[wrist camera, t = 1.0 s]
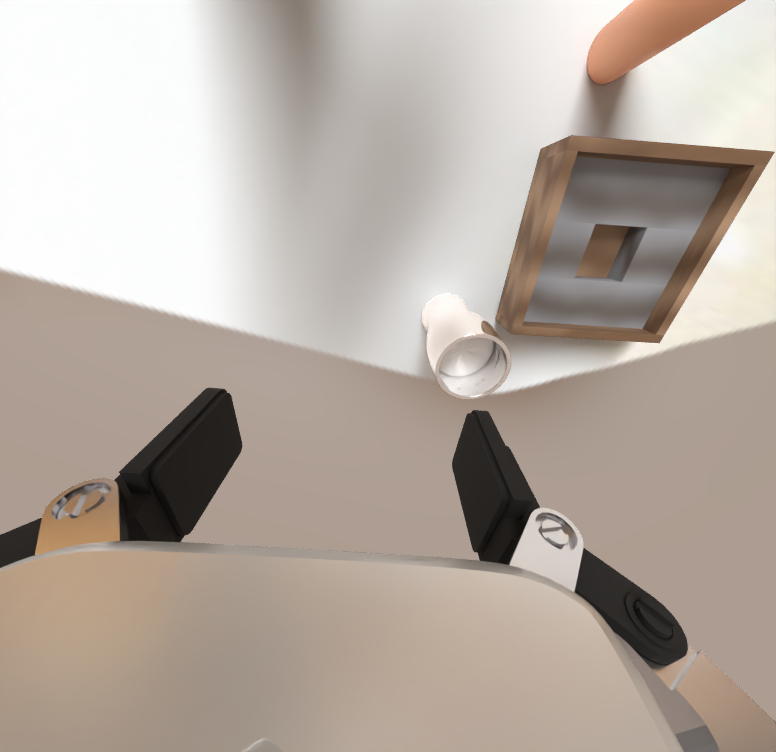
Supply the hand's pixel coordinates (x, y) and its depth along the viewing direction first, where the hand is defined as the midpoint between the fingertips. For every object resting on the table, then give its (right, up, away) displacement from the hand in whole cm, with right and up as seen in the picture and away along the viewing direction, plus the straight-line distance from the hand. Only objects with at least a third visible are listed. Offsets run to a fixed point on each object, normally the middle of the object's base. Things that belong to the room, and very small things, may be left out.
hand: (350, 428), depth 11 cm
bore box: (+26, +17, +22) cm, 38 cm away
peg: (+22, +31, +14) cm, 40 cm away
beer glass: (+9, +10, +26) cm, 30 cm away
